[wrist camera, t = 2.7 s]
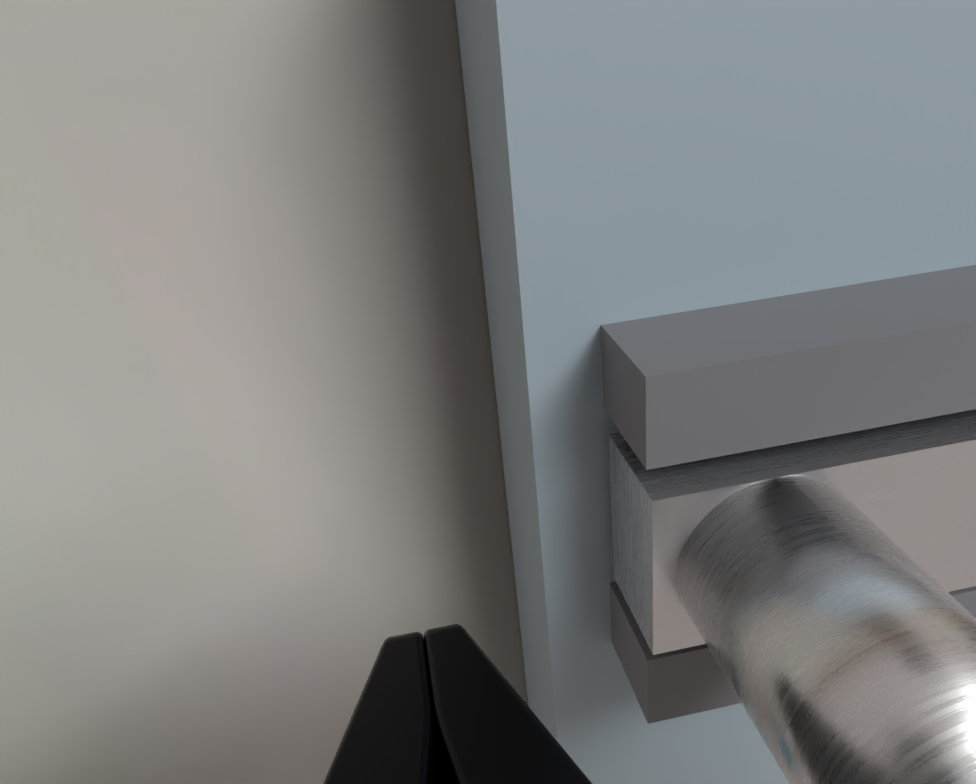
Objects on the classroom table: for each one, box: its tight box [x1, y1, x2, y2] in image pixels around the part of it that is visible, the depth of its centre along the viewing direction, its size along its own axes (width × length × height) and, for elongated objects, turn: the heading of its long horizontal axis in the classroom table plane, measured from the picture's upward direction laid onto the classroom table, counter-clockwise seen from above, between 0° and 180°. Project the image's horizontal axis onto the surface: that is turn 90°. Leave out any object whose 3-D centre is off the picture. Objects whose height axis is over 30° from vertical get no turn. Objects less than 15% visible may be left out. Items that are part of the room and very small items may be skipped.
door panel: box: [455, 0, 976, 784], centre depth 12 cm, size 10×18×5 cm, turn 6°
